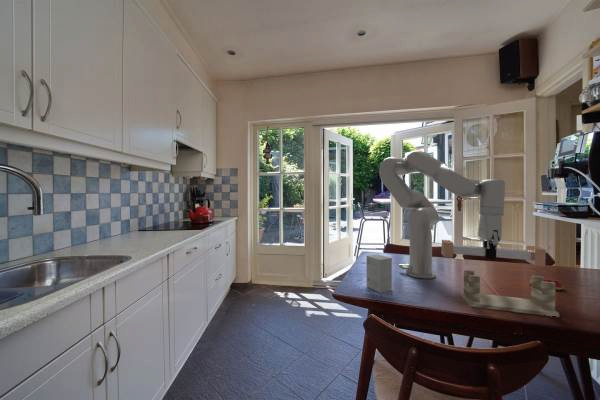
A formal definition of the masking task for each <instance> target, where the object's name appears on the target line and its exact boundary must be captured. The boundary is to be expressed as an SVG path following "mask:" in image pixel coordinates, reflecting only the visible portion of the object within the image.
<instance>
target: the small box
mask: <svg viewBox="0 0 600 400" xmlns="http://www.w3.org/2000/svg"><path fill="white" fill-rule="evenodd" d="M392 260H393V259H392V257H388V256H385V255H382V254H379V253H376V254H368V255H366V287H367V288H369V289H372V290H373V291H376V292H377V293H379V294H382V293H386V292H389V291H390V292H391V291H393V270H392V269H393V266H392V265H393V264H392V263H393V262H392Z"/></svg>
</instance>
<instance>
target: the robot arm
mask: <svg viewBox="0 0 600 400" xmlns="http://www.w3.org/2000/svg"><path fill="white" fill-rule="evenodd" d="M415 172H418V173H420V174H422V175H424V176H425V177H427V178H429V179H431V180H432V181H433V182H434V183H436V184H437V185H439V186H440V187H441V188H444V189H445V190H446V191H448V192H449V193H452V194H454V195H456V196H458V197H460V198H463V199H464V198H465V199H466V198H479V209H478V210H479V213H478V214H479V215H480V216H479V220H478V221H479V222H478V229H477V237H478V238H479V239H481V240H482V247H487V248H486V256H484V258H485V259H487V260H494V261H495V260H497V257H496V250H497V248H498V245H500V244H499V242H501V240H502V237H503V236H502V235H503V234H502V232H503V231H502V230H503V227H502V226H503V224H502V222H503V221H502V220H503V219H502V217H503V216H504V211H505V195H506V181H505V180H503V179H494V178H493V179H490V178H489V179H483V180H479V179H473V178H467V177H465V176H463V175H461V174H460V173H457V172H456V171H454V170H452V169H451V168H450V167H448V164H446V163H445V162H443V161H441V160H439V159H437V158H435V157H433V156H431V154H430V153H428V152H426V151H422V150H413V151H411V152H409V153H408V154H407V156H406V157H404V158H401V157H396V156H390V157H387V158H384V159H383V160H382V162H380V164H379V170H378V174H379V178H380V180H381V182H382V184H383V185H384V186H385V187H386V189H387V190H388V192H389V193H390V194H391V196H392V197H393V198H394V200H395V201H396V203H397V204H398V205H399V207H401V208H402V209H403V210H411V211H410V212H409V214H408V215H407V223H408V230H409V262H408V263H406V264H402V263H399V267H398V268H399V269H402V270H406V271H405V273H406V275H408V276H409V277H413V278H416V279H417V278H418V279H426V280H427V279H433V278H436V274H437V273H435V271H433V235H432V234H433V233H432V228H431V227H432V226H434V225H437V223H438V222H439V219H440V215H439V212H438V210H437V209H436V207H434V205H433V204H432V203H431V201H429V199H428V198H427V196H426V195H425V194H424V193H423V192H421V191H420V190H417V189H412V188H410V187H409V185H408V184H407V183H406V181H405V180H404V179H402V177H400V176H401V175H406V174H412V173H415ZM399 175H400V176H399Z"/></svg>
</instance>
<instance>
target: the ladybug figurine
mask: <svg viewBox="0 0 600 400" xmlns="http://www.w3.org/2000/svg"><path fill="white" fill-rule="evenodd" d="M544 282H554V283H556V287H555V291H562V290H563V289H564V288H565V287H564V285H562V284H561V282H560V281H558V280H557V279H554V278H550V277H544ZM529 284H530V285H531V279H530V281H529Z"/></svg>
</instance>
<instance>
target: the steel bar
mask: <svg viewBox="0 0 600 400" xmlns="http://www.w3.org/2000/svg"><path fill="white" fill-rule="evenodd" d="M486 248H487V247H483V246H478V245H477V246H475V245H474V246H473V245H464V244H463V245H460V244H459V245H458V244H454V242H453V241H451V240H450V239H441V250H440V251H441V252H440V253H441V255H442V257H443V258H445V259H446V258H448V259H454V254H455V255H464V256H465V255H466V256H467V255H468V256H477V257H478V256H479V257H485V256H486ZM546 254H547V250H546V248H545V249H544V248H543V247H539V246H537V245H526V249H518V248H517V249H516V248H505V247H504V248H502V247H500V248H499V247H497V250H496V258H501V259H502V258H503V259H504V258H505V259H514V260H516V259H517V260H525V261H526V262H527V263H529V264H531V265H533V266H539V267H546Z"/></svg>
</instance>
